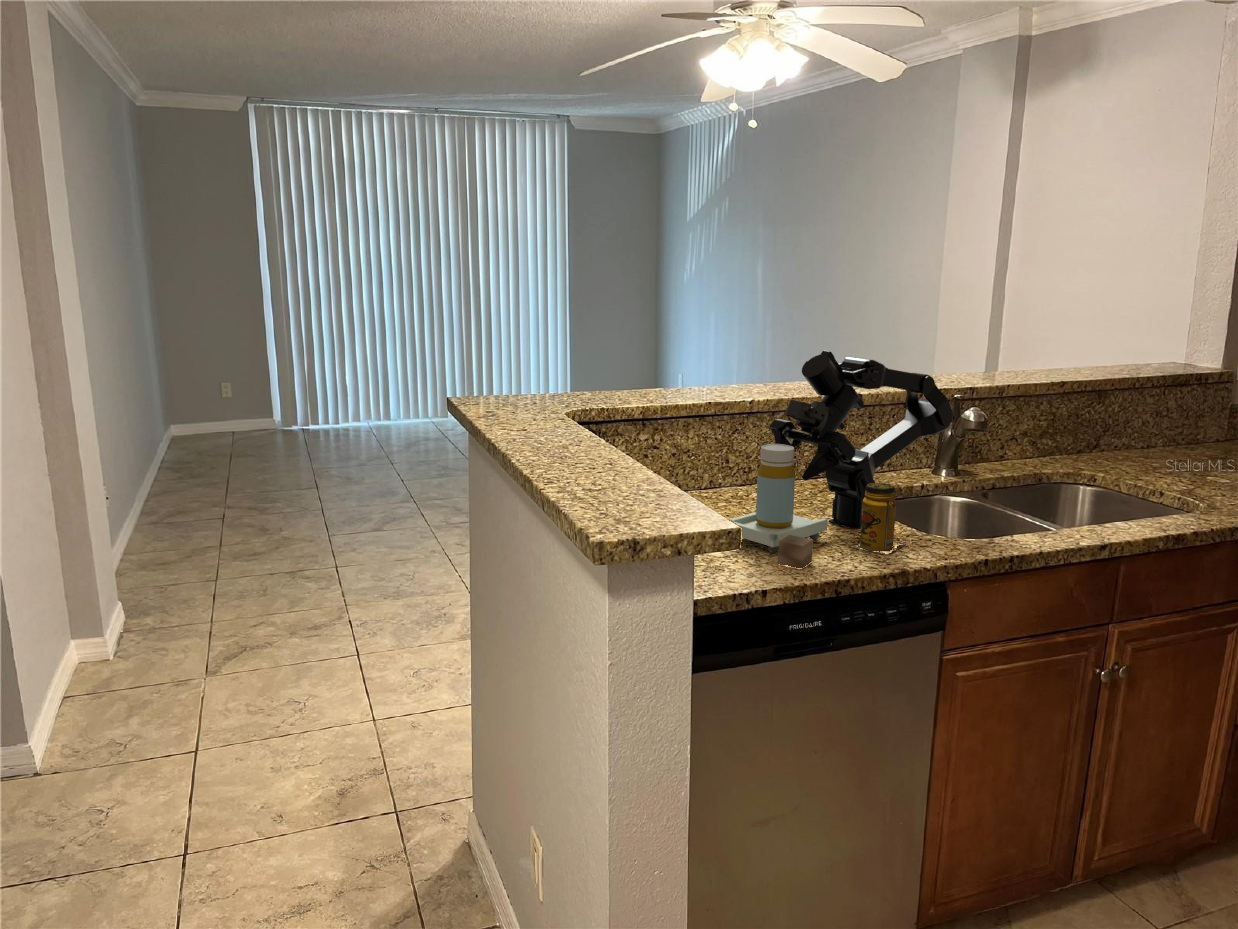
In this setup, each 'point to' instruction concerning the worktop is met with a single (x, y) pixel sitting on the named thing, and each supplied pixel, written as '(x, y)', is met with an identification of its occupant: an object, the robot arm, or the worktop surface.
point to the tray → (779, 530)
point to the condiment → (878, 518)
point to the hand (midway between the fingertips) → (786, 474)
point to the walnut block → (795, 551)
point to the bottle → (775, 486)
